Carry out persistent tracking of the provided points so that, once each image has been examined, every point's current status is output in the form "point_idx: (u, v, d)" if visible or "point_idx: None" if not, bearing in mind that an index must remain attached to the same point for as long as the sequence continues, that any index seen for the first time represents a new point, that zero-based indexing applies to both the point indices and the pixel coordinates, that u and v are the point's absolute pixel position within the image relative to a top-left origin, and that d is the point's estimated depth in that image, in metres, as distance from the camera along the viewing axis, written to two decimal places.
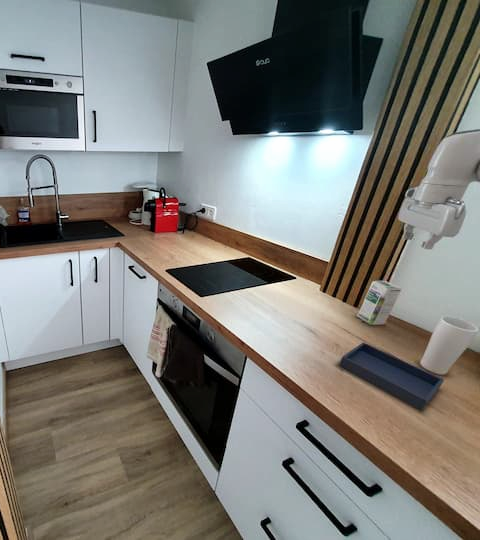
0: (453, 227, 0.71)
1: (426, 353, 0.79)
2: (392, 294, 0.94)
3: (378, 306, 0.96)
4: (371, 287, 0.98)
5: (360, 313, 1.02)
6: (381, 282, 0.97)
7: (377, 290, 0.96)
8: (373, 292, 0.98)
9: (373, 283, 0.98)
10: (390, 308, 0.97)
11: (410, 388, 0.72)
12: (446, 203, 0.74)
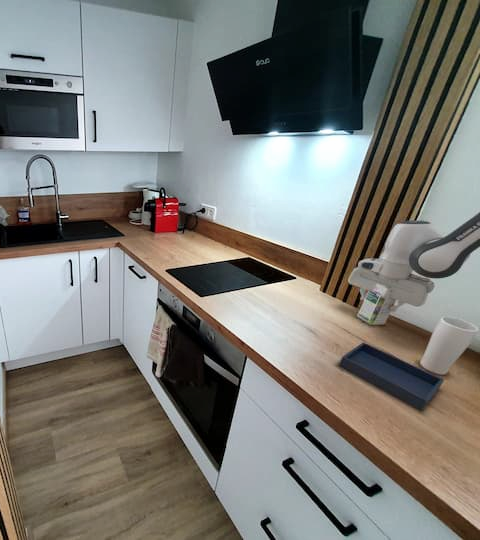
0: (425, 299, 0.88)
1: (426, 353, 0.79)
2: None
3: (378, 306, 0.96)
4: None
5: (360, 313, 1.02)
6: None
7: (377, 290, 0.96)
8: (373, 292, 0.98)
9: None
10: None
11: (410, 388, 0.72)
12: (410, 278, 0.90)
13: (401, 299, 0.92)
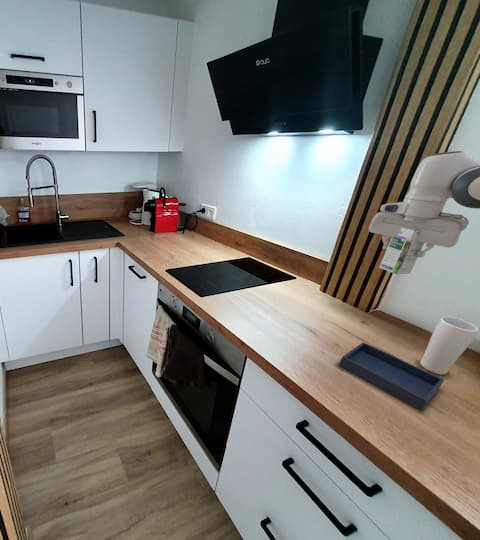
0: (458, 238, 0.80)
1: (426, 353, 0.79)
2: None
3: (403, 252, 0.88)
4: None
5: (383, 263, 0.94)
6: None
7: (402, 235, 0.88)
8: (397, 238, 0.90)
9: None
10: None
11: (410, 388, 0.72)
12: (440, 217, 0.82)
13: (430, 241, 0.84)
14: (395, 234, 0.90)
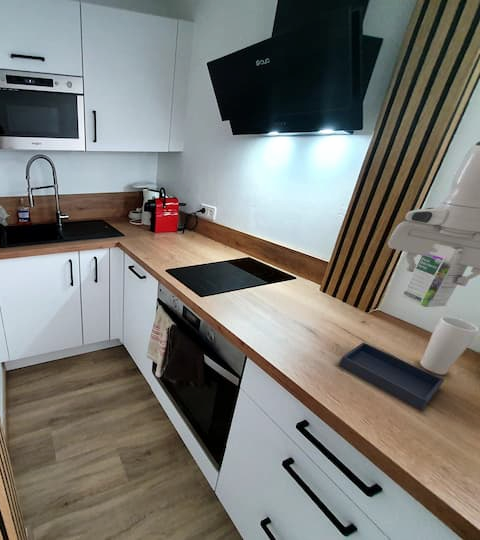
0: None
1: (426, 353, 0.79)
2: None
3: (438, 277, 0.63)
4: None
5: (407, 291, 0.69)
6: None
7: (437, 254, 0.63)
8: (429, 257, 0.65)
9: None
10: None
11: (410, 388, 0.72)
12: None
13: (479, 265, 0.59)
14: (426, 252, 0.65)
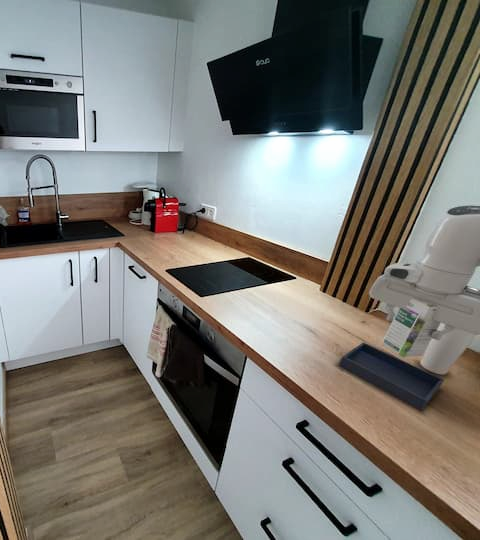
0: None
1: (426, 353, 0.79)
2: None
3: (414, 331, 0.67)
4: None
5: (386, 339, 0.73)
6: None
7: (413, 309, 0.67)
8: (406, 311, 0.68)
9: None
10: (431, 334, 0.67)
11: (410, 388, 0.72)
12: (465, 293, 0.61)
13: (451, 323, 0.63)
14: (403, 306, 0.69)
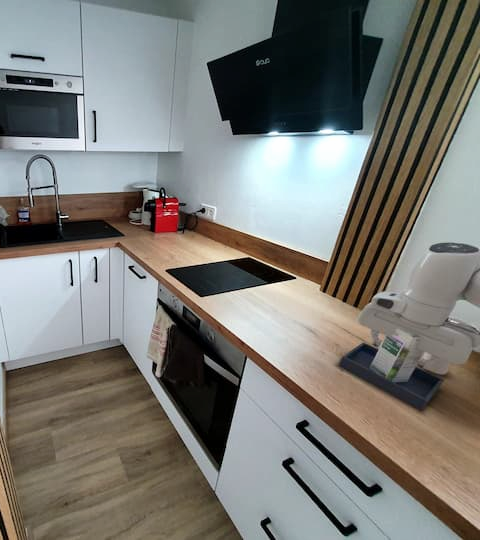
0: (469, 355, 0.63)
1: (426, 353, 0.79)
2: None
3: (399, 359, 0.70)
4: None
5: (374, 365, 0.77)
6: None
7: (398, 338, 0.70)
8: (392, 339, 0.72)
9: None
10: (416, 362, 0.71)
11: (410, 388, 0.72)
12: (447, 325, 0.64)
13: (433, 352, 0.66)
14: (389, 334, 0.72)
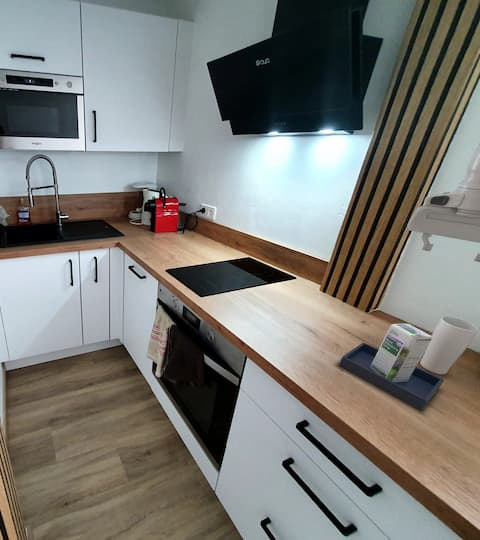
0: None
1: (426, 353, 0.79)
2: (419, 345, 0.68)
3: (399, 359, 0.70)
4: (389, 332, 0.73)
5: (374, 365, 0.77)
6: (403, 326, 0.71)
7: (398, 338, 0.70)
8: (392, 340, 0.72)
9: (392, 327, 0.72)
10: (416, 362, 0.71)
11: (410, 388, 0.72)
12: None
13: None
14: (443, 233, 0.72)
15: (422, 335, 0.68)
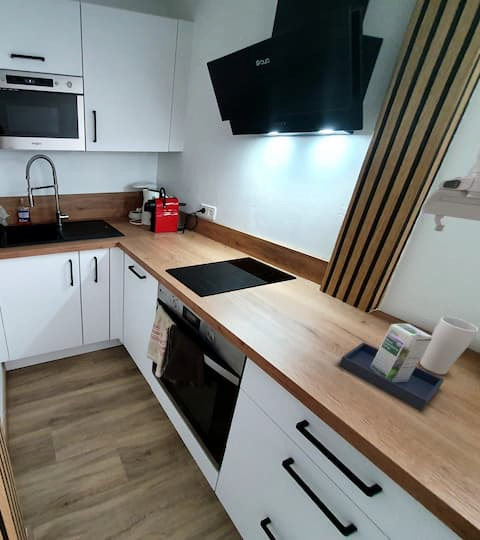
0: None
1: (426, 353, 0.79)
2: (419, 345, 0.68)
3: (399, 359, 0.70)
4: (389, 332, 0.73)
5: (374, 365, 0.77)
6: (403, 326, 0.71)
7: (398, 338, 0.70)
8: (392, 340, 0.72)
9: (392, 327, 0.72)
10: (416, 362, 0.71)
11: (410, 388, 0.72)
12: None
13: None
14: (454, 214, 0.80)
15: (422, 335, 0.68)
